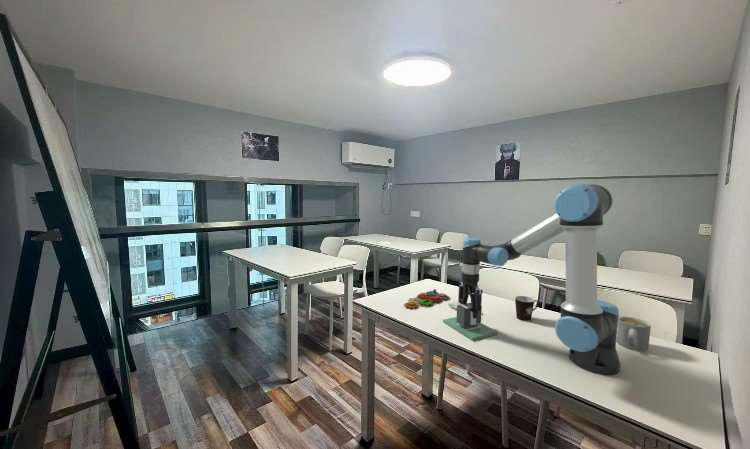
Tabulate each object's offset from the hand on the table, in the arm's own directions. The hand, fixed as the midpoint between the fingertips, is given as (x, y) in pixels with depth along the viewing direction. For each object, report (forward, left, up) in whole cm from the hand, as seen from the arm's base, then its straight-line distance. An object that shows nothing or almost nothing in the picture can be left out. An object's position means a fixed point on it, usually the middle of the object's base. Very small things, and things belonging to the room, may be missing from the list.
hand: (468, 321), depth 138 cm
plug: (0, 0, 0) cm, 0 cm away
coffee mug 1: (-4, -33, -3) cm, 33 cm away
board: (0, 0, -3) cm, 3 cm away
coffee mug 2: (-40, -48, -3) cm, 63 cm away
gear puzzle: (+37, 0, -4) cm, 37 cm away
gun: (+16, -11, -4) cm, 20 cm away
